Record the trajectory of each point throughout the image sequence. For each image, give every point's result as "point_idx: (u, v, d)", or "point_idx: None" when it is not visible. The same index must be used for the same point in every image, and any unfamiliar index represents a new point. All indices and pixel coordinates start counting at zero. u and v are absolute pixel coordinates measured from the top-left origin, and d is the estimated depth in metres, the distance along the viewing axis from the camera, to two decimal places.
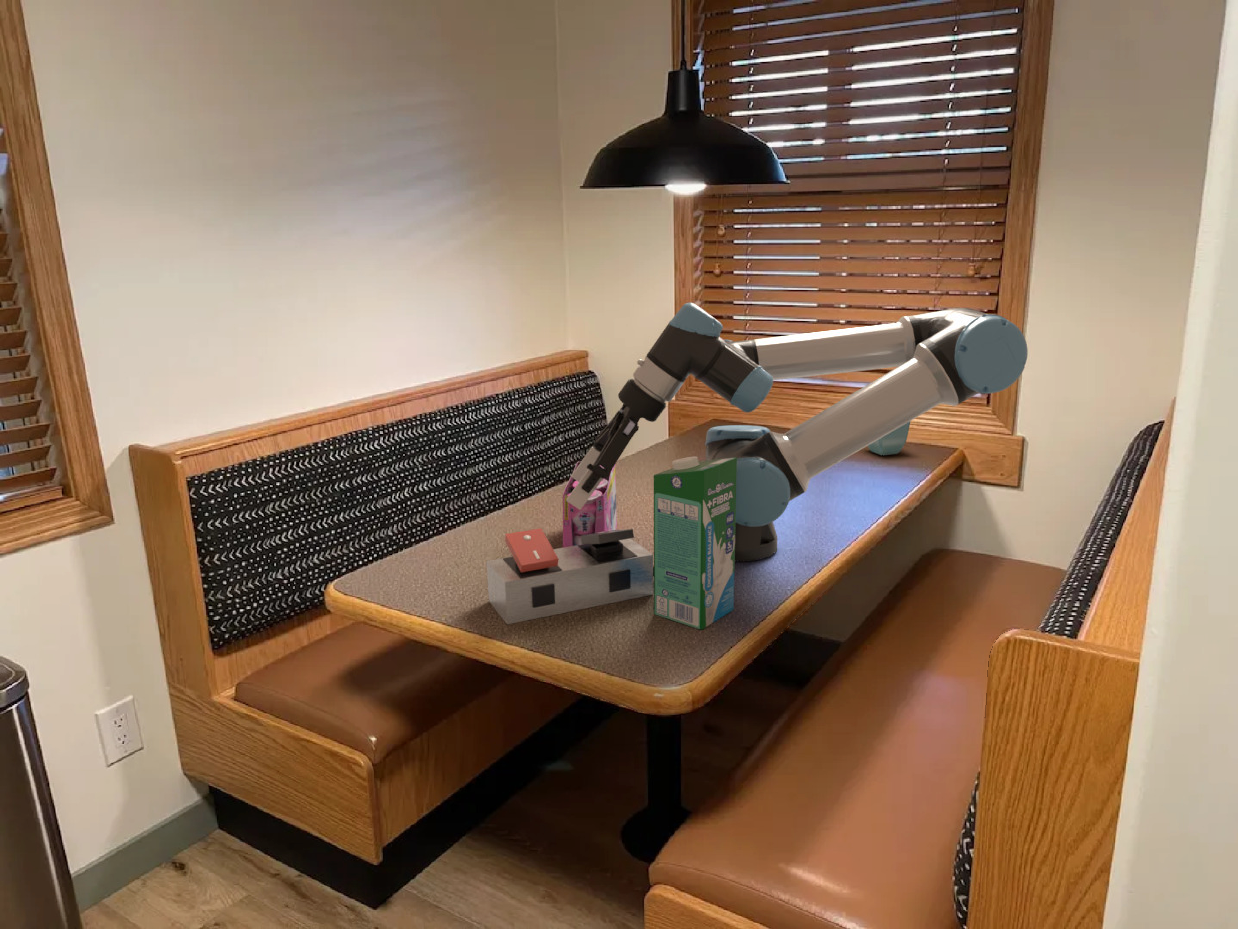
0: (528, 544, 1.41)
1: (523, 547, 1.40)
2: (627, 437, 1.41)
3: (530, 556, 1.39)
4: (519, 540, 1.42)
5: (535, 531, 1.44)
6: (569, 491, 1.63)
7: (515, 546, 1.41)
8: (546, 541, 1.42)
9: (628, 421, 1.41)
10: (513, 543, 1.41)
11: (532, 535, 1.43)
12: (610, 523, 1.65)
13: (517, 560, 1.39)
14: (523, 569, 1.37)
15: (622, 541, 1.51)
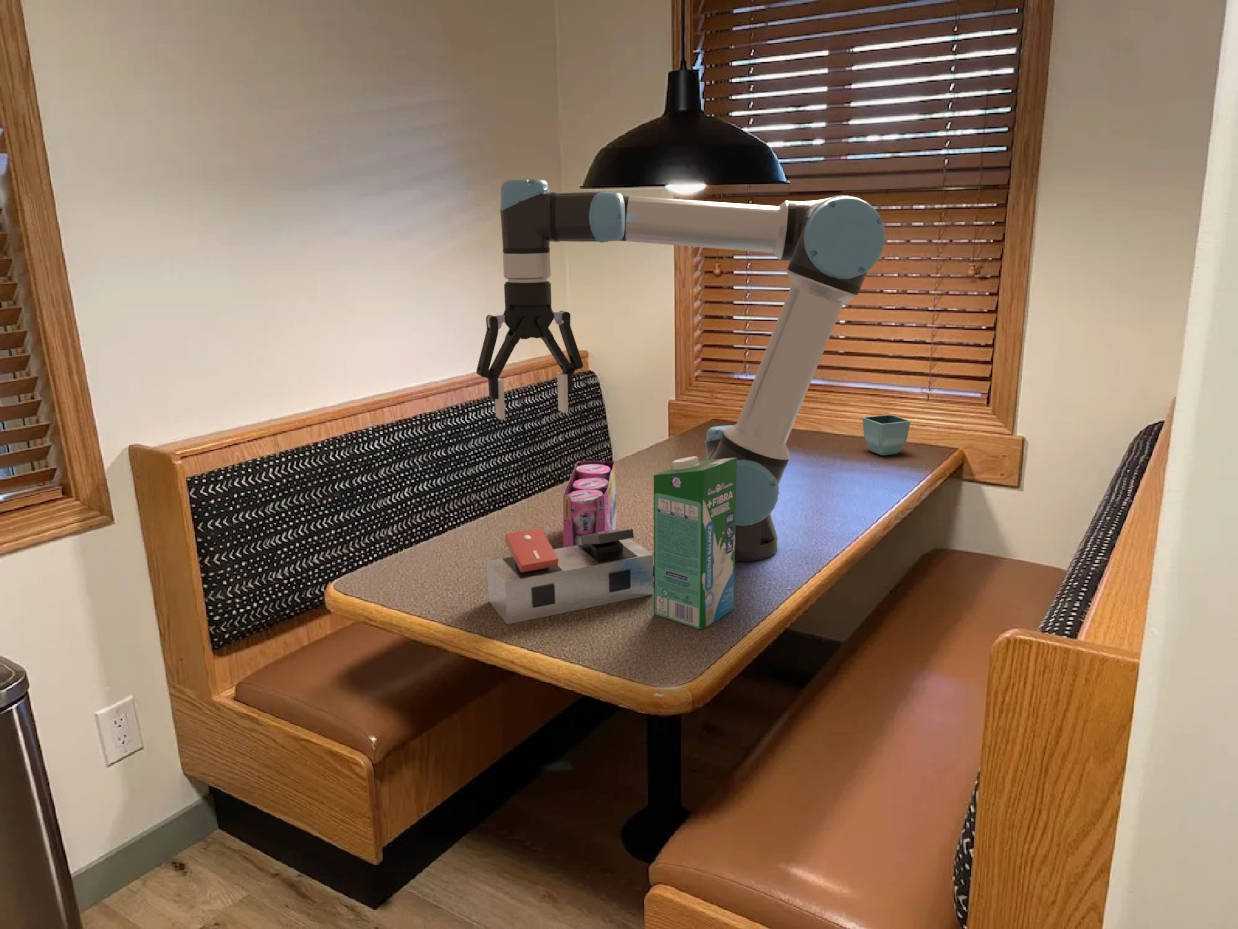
0: (528, 544, 1.41)
1: (523, 547, 1.40)
2: (490, 331, 1.43)
3: (530, 556, 1.39)
4: (519, 540, 1.42)
5: (535, 531, 1.44)
6: (569, 491, 1.63)
7: (515, 546, 1.41)
8: (546, 541, 1.42)
9: (487, 316, 1.44)
10: (513, 543, 1.41)
11: (532, 535, 1.43)
12: (610, 523, 1.65)
13: (517, 560, 1.39)
14: (523, 569, 1.37)
15: (622, 541, 1.51)
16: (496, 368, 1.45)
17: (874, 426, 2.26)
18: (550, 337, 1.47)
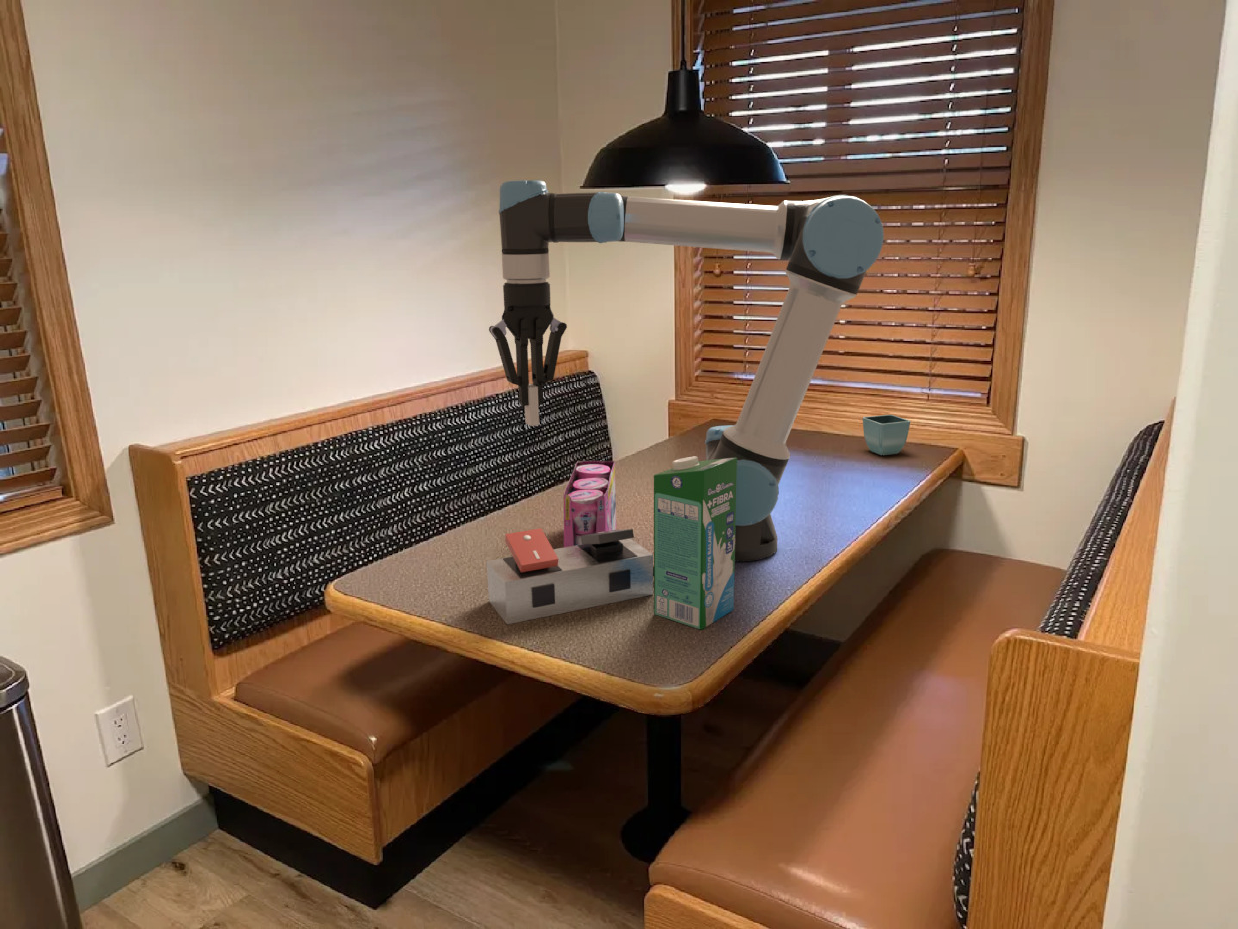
0: (528, 544, 1.41)
1: (523, 547, 1.40)
2: (499, 341, 1.45)
3: (530, 556, 1.39)
4: (519, 540, 1.42)
5: (535, 531, 1.44)
6: (569, 491, 1.64)
7: (515, 546, 1.41)
8: (546, 541, 1.42)
9: (490, 329, 1.45)
10: (513, 543, 1.41)
11: (532, 535, 1.43)
12: None
13: (517, 560, 1.39)
14: (523, 569, 1.37)
15: (622, 541, 1.51)
16: (522, 376, 1.47)
17: (874, 425, 2.26)
18: (539, 342, 1.46)
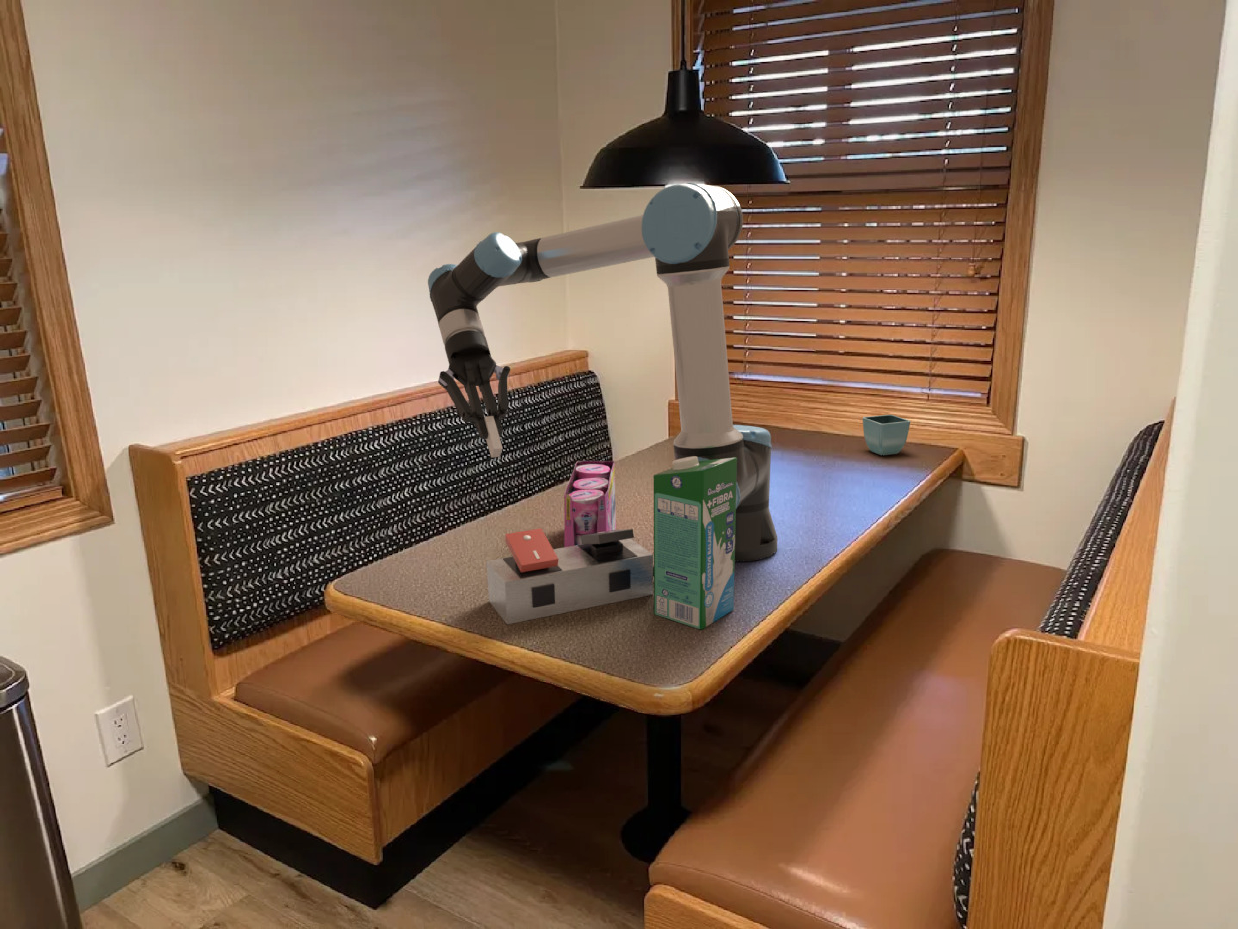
0: (528, 544, 1.41)
1: (523, 547, 1.40)
2: (447, 384, 1.54)
3: (530, 556, 1.39)
4: (519, 540, 1.42)
5: (535, 531, 1.44)
6: (570, 491, 1.64)
7: (515, 546, 1.41)
8: (546, 541, 1.42)
9: (438, 380, 1.56)
10: (513, 543, 1.41)
11: (532, 535, 1.43)
12: None
13: (517, 560, 1.39)
14: (523, 569, 1.37)
15: (622, 541, 1.51)
16: (476, 408, 1.53)
17: (874, 425, 2.26)
18: (486, 379, 1.56)
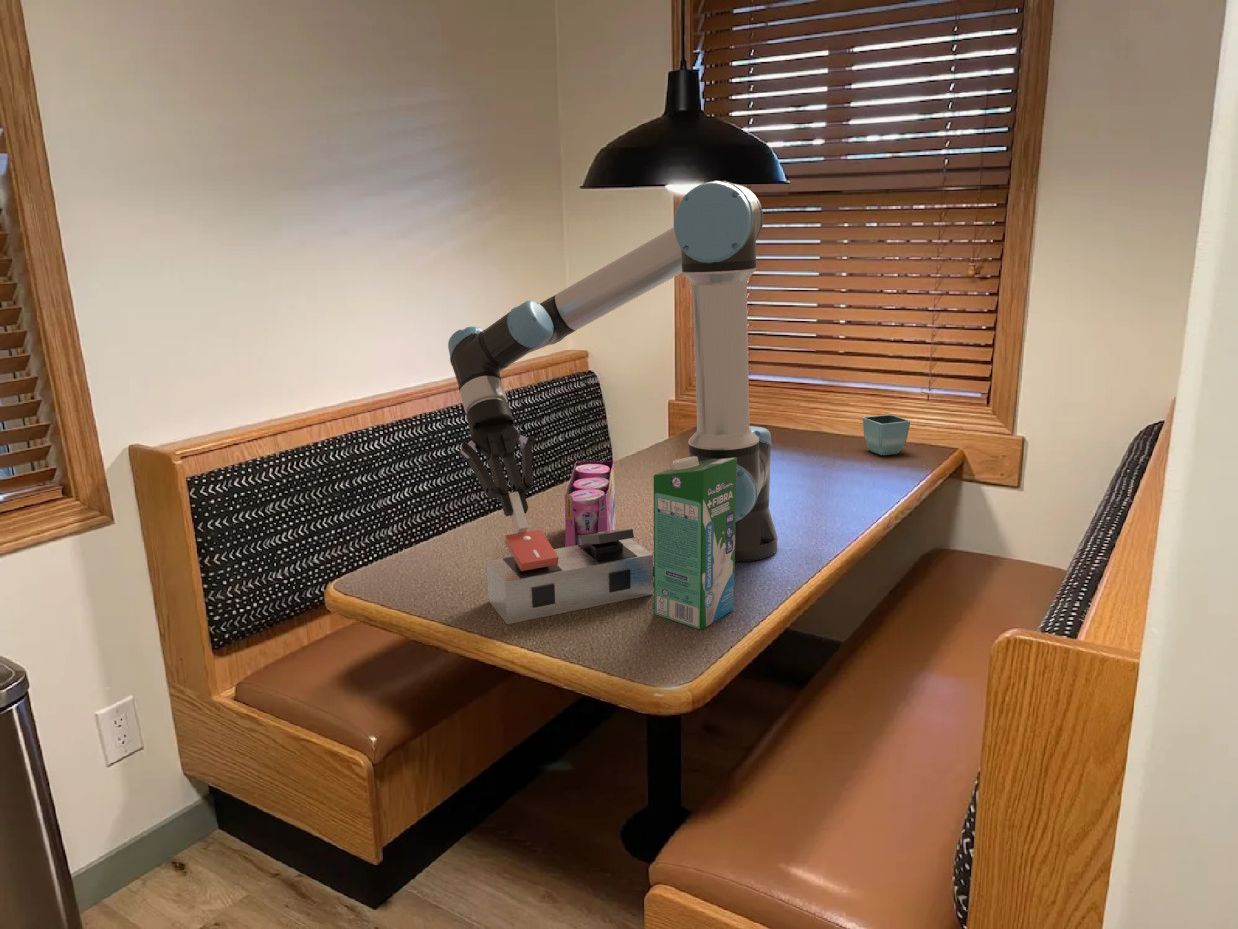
0: (528, 544, 1.41)
1: (523, 547, 1.41)
2: (470, 457, 1.48)
3: (530, 555, 1.39)
4: (519, 541, 1.42)
5: (534, 532, 1.44)
6: (570, 491, 1.64)
7: (515, 546, 1.41)
8: (545, 541, 1.42)
9: (460, 452, 1.49)
10: (513, 543, 1.41)
11: (532, 536, 1.43)
12: (611, 522, 1.66)
13: (517, 559, 1.38)
14: (523, 567, 1.37)
15: (622, 541, 1.51)
16: (500, 483, 1.46)
17: (874, 425, 2.26)
18: (510, 451, 1.49)
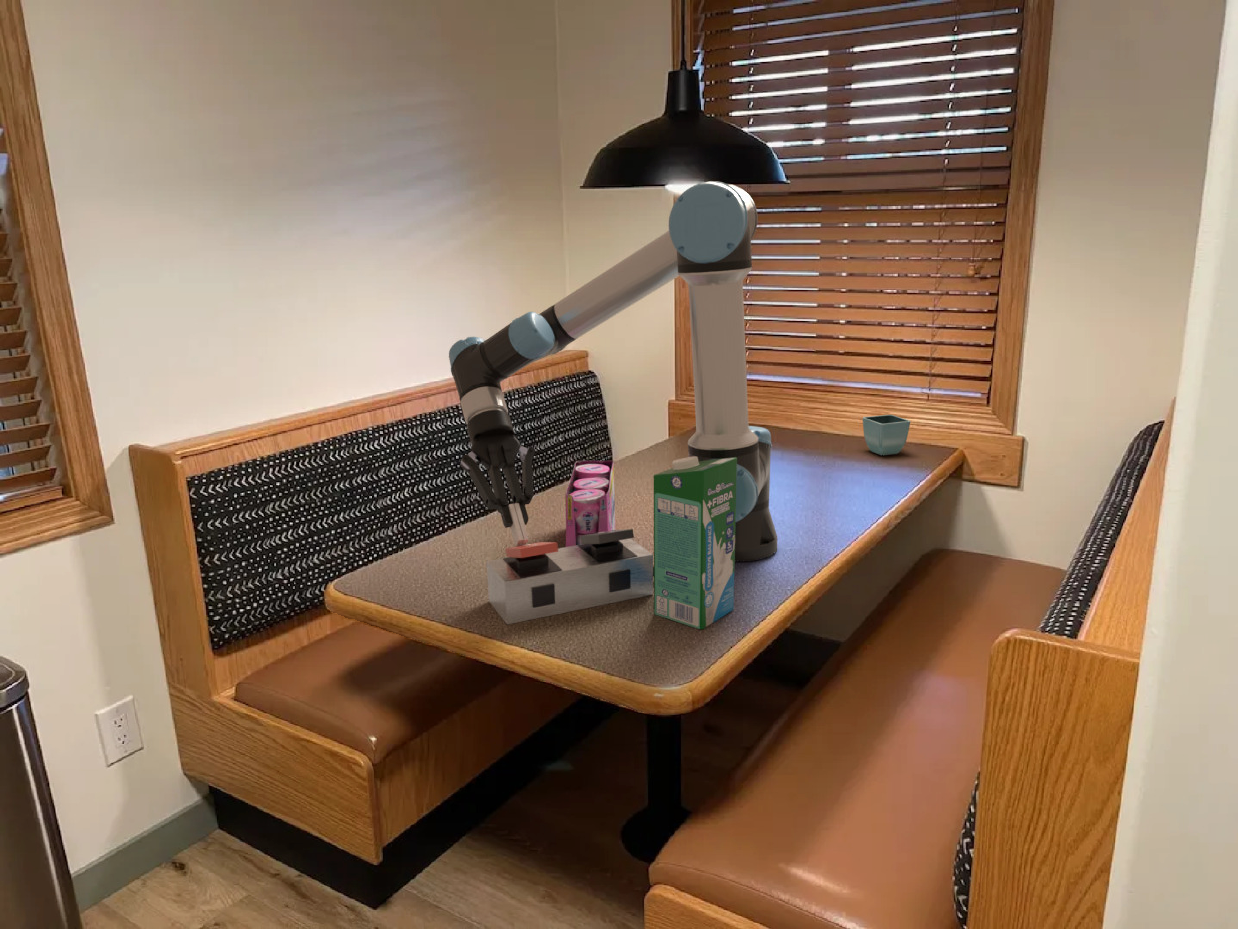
0: (527, 545, 1.42)
1: (522, 546, 1.41)
2: (470, 468, 1.48)
3: (528, 546, 1.39)
4: (518, 546, 1.43)
5: (534, 543, 1.45)
6: (570, 491, 1.64)
7: (514, 547, 1.41)
8: (545, 542, 1.43)
9: (460, 463, 1.49)
10: (513, 547, 1.42)
11: (531, 544, 1.44)
12: (611, 522, 1.66)
13: (516, 552, 1.38)
14: (523, 553, 1.37)
15: (622, 541, 1.51)
16: (500, 495, 1.46)
17: (874, 425, 2.26)
18: (511, 462, 1.50)
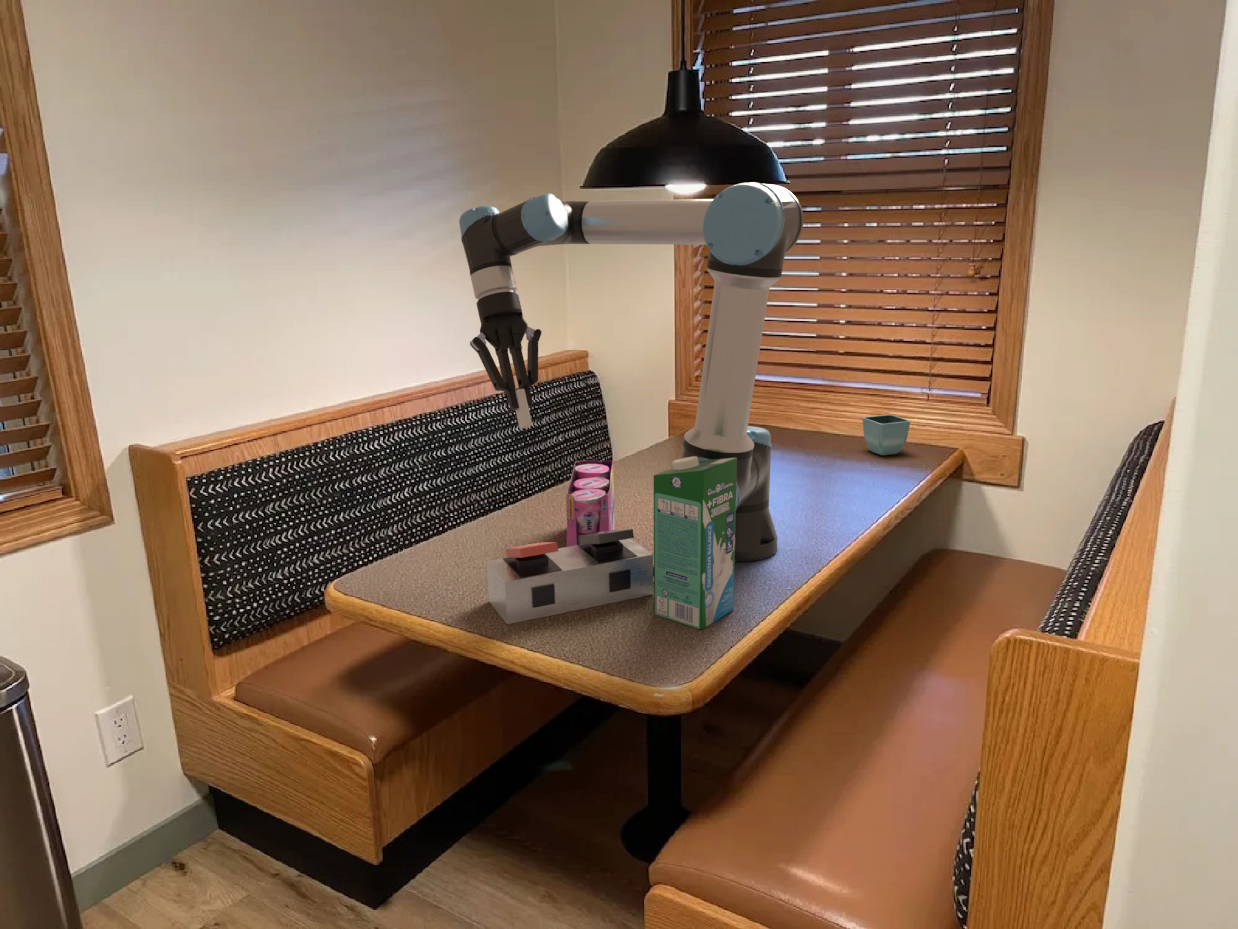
0: (527, 545, 1.42)
1: (522, 546, 1.41)
2: (480, 351, 1.55)
3: (528, 546, 1.39)
4: (518, 546, 1.43)
5: (534, 543, 1.45)
6: (571, 491, 1.64)
7: None
8: (545, 542, 1.43)
9: (470, 343, 1.56)
10: (513, 547, 1.42)
11: (531, 544, 1.44)
12: None
13: (516, 552, 1.38)
14: (523, 553, 1.37)
15: (622, 541, 1.51)
16: (508, 380, 1.56)
17: (874, 426, 2.26)
18: (518, 346, 1.57)
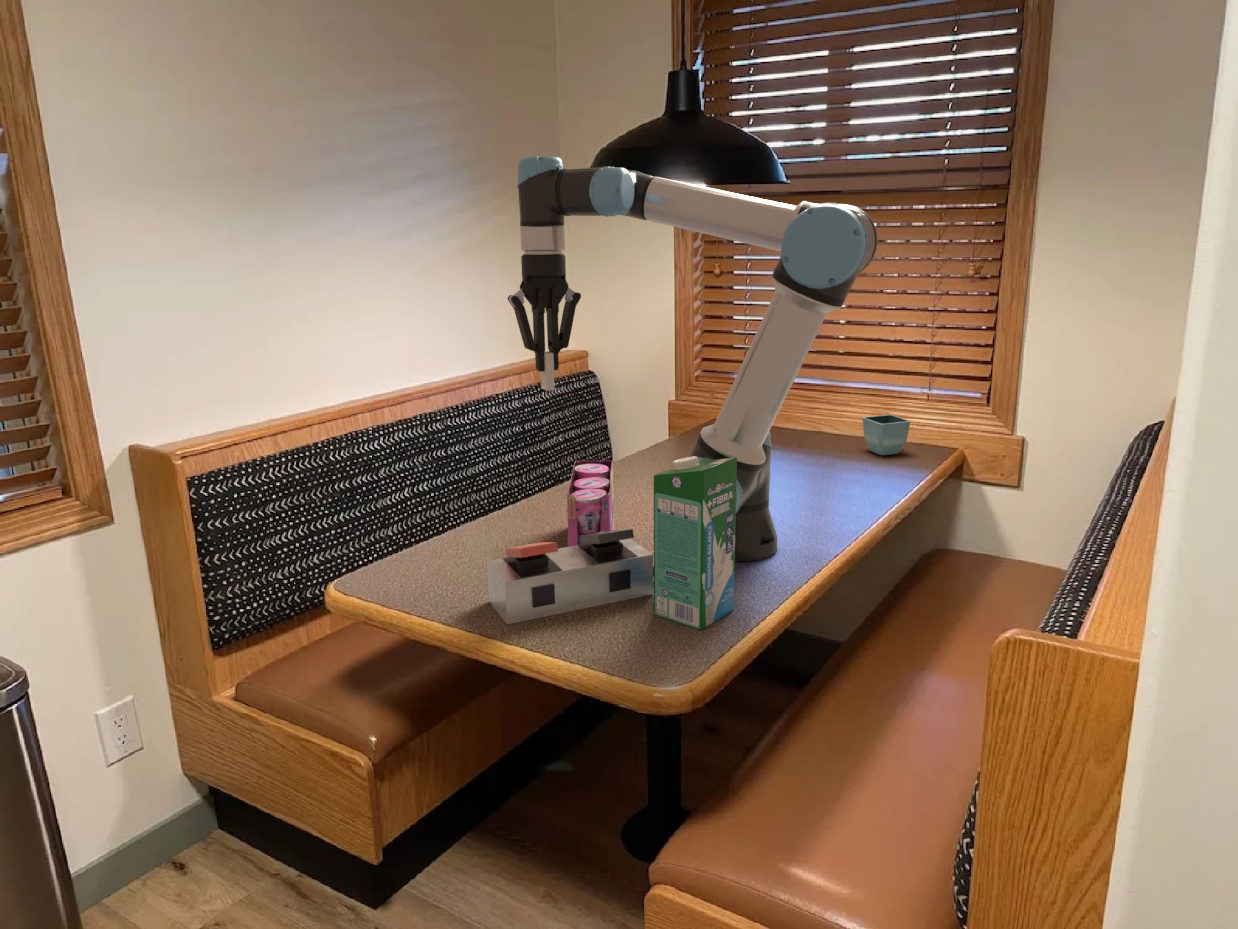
0: (527, 545, 1.42)
1: (522, 546, 1.41)
2: (517, 310, 1.53)
3: (528, 546, 1.39)
4: (518, 546, 1.43)
5: (534, 543, 1.45)
6: (571, 491, 1.64)
7: None
8: (545, 542, 1.43)
9: (508, 298, 1.53)
10: (513, 547, 1.42)
11: (531, 544, 1.44)
12: (612, 522, 1.66)
13: (516, 552, 1.38)
14: (523, 553, 1.37)
15: (622, 541, 1.51)
16: (539, 343, 1.56)
17: (874, 426, 2.26)
18: (555, 310, 1.55)
